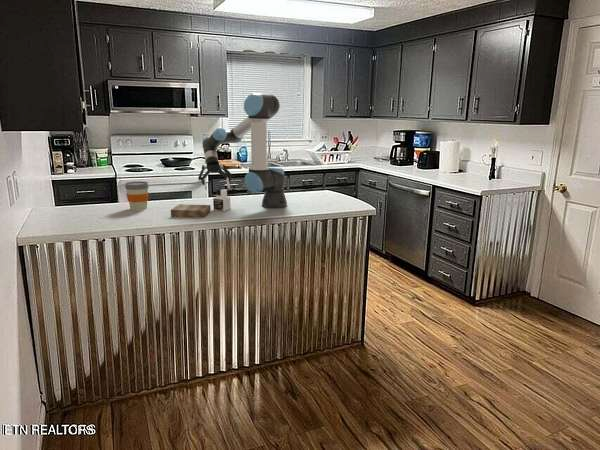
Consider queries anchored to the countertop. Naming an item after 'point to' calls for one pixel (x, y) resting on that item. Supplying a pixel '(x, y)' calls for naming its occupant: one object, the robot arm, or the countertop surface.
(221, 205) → the medicine bottle
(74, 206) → the countertop surface
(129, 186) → the reusable coffee cup
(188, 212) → the block
